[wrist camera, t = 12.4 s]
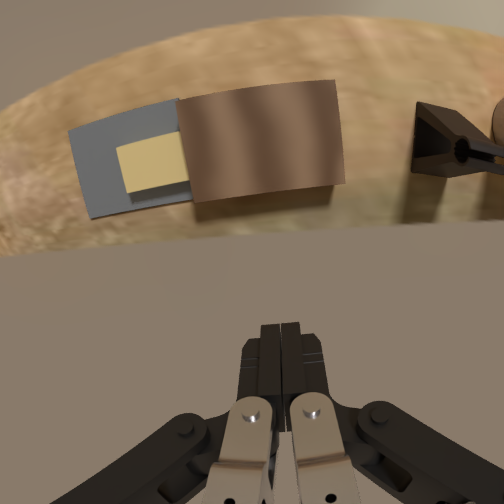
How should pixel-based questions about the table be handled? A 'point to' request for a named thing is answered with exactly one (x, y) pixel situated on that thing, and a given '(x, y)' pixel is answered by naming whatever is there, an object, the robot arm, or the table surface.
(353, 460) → the robot arm
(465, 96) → the table surface
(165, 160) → the yellow block
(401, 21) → the table surface
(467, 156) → the phone stand
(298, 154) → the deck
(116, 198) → the mat
